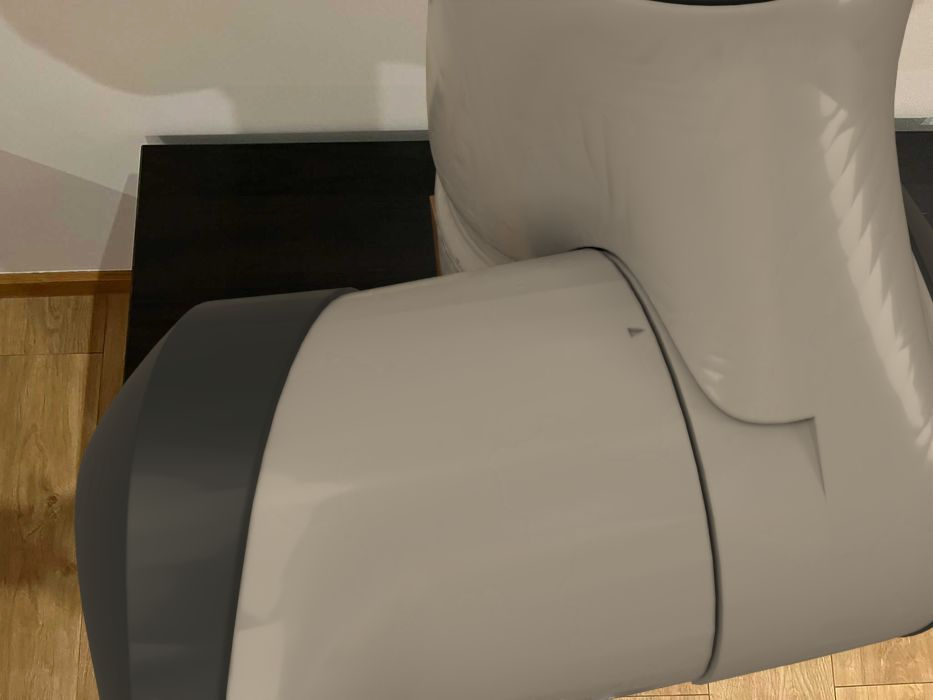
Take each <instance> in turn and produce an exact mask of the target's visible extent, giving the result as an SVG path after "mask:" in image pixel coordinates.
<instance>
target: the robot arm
mask: <svg viewBox="0 0 933 700" xmlns="http://www.w3.org/2000/svg"><path fill="white" fill-rule="evenodd" d="M914 1H915V0H428V4H427V18H426V37H425V40H426V41H425V45H426V46H425V101H426V115H427V116H426V117H427V131H428V141H429V146H430V147H429V148H430V153H431V156H432V157H431V158H432V160H433V164H434V167H435V181H434V190H433V191H434V195H435V211H436V225H437V235H438V246H439V258H440V264H441V269H442V273H443V276H433V277H428V278H427V277H426V278H423V279H417V280H411V281H407V282H401V283H396V284H391V285H385V286H379V287H374V288H370V289H369V288H368V289H364V290H360V289H357V288H354V287H352V286H347V287H339V288H329V289H318V290H309V291H299V292H298V291H297V292H289V293H287V292H286V293H279V294H277V293H276V294H267V295H259V296H249V297H248V296H247V297H238V298H237V297H236V298H227V299H217V300H216V299H215V300H208V301H203V302H201V303H198V304H196V305H194V306H192V308H190V309H189V310H188V311H187V312H186V313H184V314H183V315H182V316H181V317H180V318H179V320H177V321H176V323H175V324H174V325H173V326H172V327H171V328H170V329H169V330H168V331H167V332H166V333H165V334H164V335H163V336H162V337H161V339H159V340H158V342H157V343H156V344H155V345H154V346H153V347H152V349H151V350H150V351H149V353H148V354H146V355H145V357H144V358H143V360H142V361H141V362H140V363H139V364H138V366H137V367H136V368H135V369H134V371H133V372H132V373H131V375H130V376H129V377H128V378H127V379H126V381H125V382H124V384H123V385H122V386H121V388H120V389H119V391H118V392H117V394H115V396H114V398H113V399H112V401H111V403H110V404H109V406H108V408H106V410H105V412H104V413H103V416H102V417H101V419H100V420H99V423H98V424H97V426H96V427H95V430H94V431H93V433H92V436H91V437H90V439H89V442H88V444H87V445H86V447H85V450H84V453H83V455H82V458H81V460H80V461H81V462H80V465H79V470H78V474H77V480H76V487H75V495H74V496H75V497H74V546H75V561H76V570H77V581H78V587H79V588H78V589H79V595H80V601H81V609H82V613H83V614H82V615H83V621H84V626H85V627H84V628H85V633H86V636H87V643H88V648H89V652H90V659H91V664H92V669H93V673H94V674H93V675H94V678H95V684H96V689H97V693H98V699H99V700H614V699H619V698H624V697H628V696H633V695H638V694H641V693H645V692H650V691H655V690H659V689H665V688H668V687H673V686H677V685H682V684H686V683H691V685H694V686H695V685H697V686H703V685H707V684H711V683H717V682H721V681H724V680H729V679H734V678H737V677H742V676H746V675H750V674H755V673H758V672H763V671H768V670H772V669H777V668H782V667H787V666H791V665H795V664H799V663H800V664H801V663H804V662H808V661H811V660H815V659H820V658H825V657H828V656H831V655H836V654H840V653H844V652H848V651H852V650H857V649H861V648H865V647H868V646H871V645H876V644H880V643H884V642H887V641H891V640H893V639H897V638H909V637H915V636H917V635H920V634H923V633H926V632H927V631H929V630H932V629H933V227H932V226H931V225H930V223H929V222H928V220H927V218H926V217H925V216H924V214H923V213H922V211H921V210H920V208H919V207H918V205H917V204H916V202H915V201H914V199H913V198H912V197H911V195H910V194H909V192H908V190H907V189H906V187H905V186H904V184H903V183H902V182H901V178H900V177H901V176H900V167H899V160H898V150H897V143H896V142H897V141H896V126H895V102H896V101H895V98H896V88H897V80H898V79H897V78H898V71H899V62H900V61H899V60H900V56H901V52H902V47H903V43H904V39H905V33H906V29H907V24H908V21H909V18H910V15H911V10H912V7H913V5H914Z"/></svg>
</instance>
